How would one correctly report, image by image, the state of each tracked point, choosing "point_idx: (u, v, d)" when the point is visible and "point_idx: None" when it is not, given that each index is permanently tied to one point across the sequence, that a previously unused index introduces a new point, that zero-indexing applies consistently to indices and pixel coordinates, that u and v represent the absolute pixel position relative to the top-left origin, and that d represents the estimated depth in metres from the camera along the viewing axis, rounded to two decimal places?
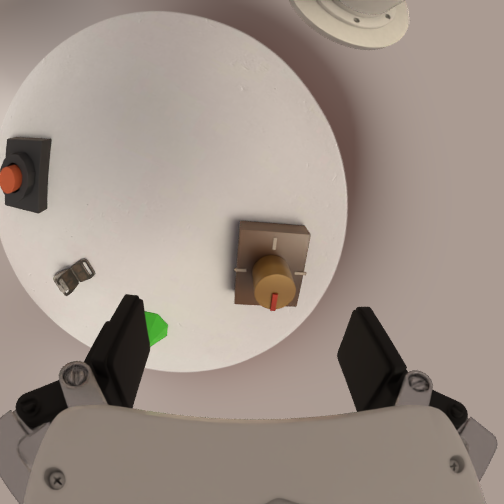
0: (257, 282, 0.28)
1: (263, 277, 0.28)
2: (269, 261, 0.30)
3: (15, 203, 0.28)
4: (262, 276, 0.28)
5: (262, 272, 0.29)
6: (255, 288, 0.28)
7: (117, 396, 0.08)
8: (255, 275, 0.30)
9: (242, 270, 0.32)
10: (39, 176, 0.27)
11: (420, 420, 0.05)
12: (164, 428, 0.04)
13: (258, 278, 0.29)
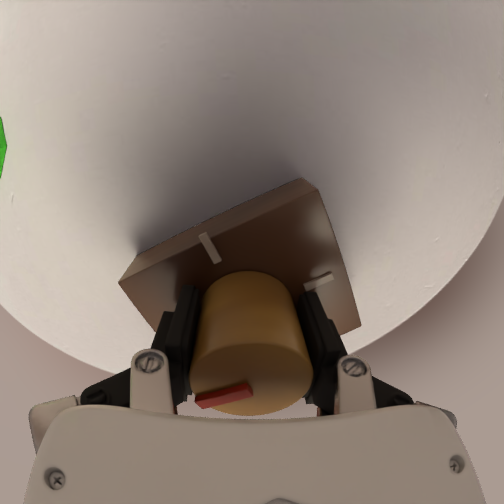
0: (252, 335, 0.08)
1: (283, 344, 0.08)
2: (290, 305, 0.11)
3: None
4: (278, 335, 0.08)
5: (276, 321, 0.09)
6: (232, 344, 0.08)
7: (183, 381, 0.09)
8: (245, 304, 0.10)
9: (212, 253, 0.11)
10: None
11: (420, 420, 0.05)
12: (164, 428, 0.04)
13: (260, 327, 0.09)
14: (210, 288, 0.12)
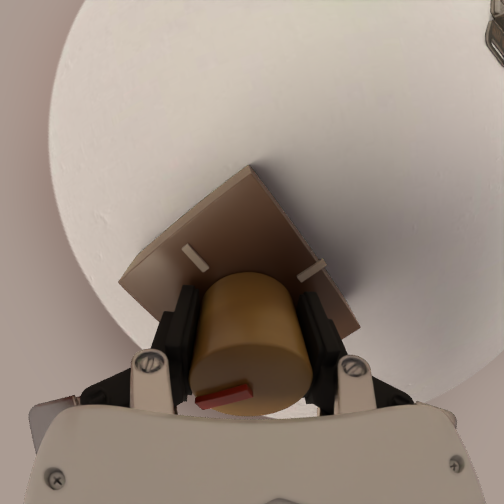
0: (251, 337, 0.08)
1: (282, 345, 0.08)
2: (290, 306, 0.11)
3: None
4: (277, 336, 0.08)
5: (275, 322, 0.09)
6: (231, 345, 0.08)
7: (183, 381, 0.09)
8: (245, 305, 0.10)
9: (307, 274, 0.12)
10: None
11: (420, 420, 0.05)
12: (164, 428, 0.04)
13: (259, 328, 0.09)
14: (210, 289, 0.12)
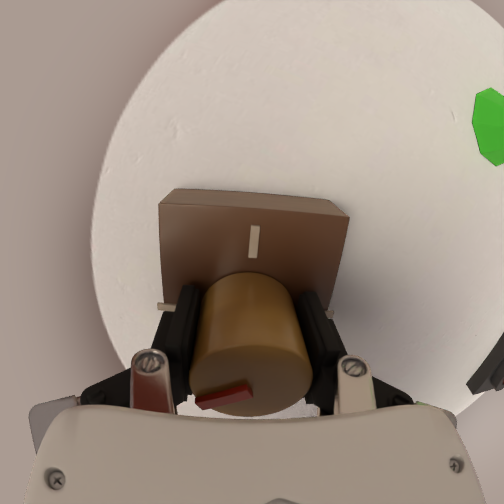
0: (251, 337, 0.08)
1: (282, 346, 0.08)
2: (290, 306, 0.11)
3: None
4: (277, 336, 0.08)
5: (275, 322, 0.09)
6: (232, 345, 0.08)
7: (183, 381, 0.09)
8: (245, 305, 0.10)
9: None
10: (494, 367, 0.21)
11: (420, 420, 0.05)
12: (164, 428, 0.04)
13: (259, 328, 0.09)
14: (210, 290, 0.12)
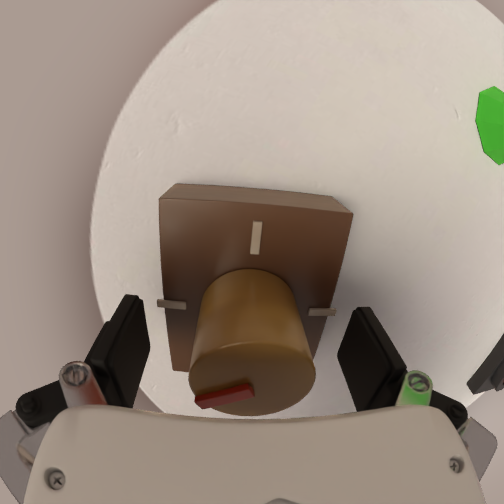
0: (254, 335, 0.08)
1: (286, 344, 0.08)
2: (293, 304, 0.11)
3: None
4: (281, 335, 0.08)
5: (278, 320, 0.09)
6: (234, 343, 0.08)
7: (117, 396, 0.08)
8: (247, 303, 0.09)
9: (317, 312, 0.13)
10: (495, 367, 0.20)
11: (420, 420, 0.05)
12: (164, 428, 0.04)
13: (262, 326, 0.08)
14: (211, 286, 0.12)
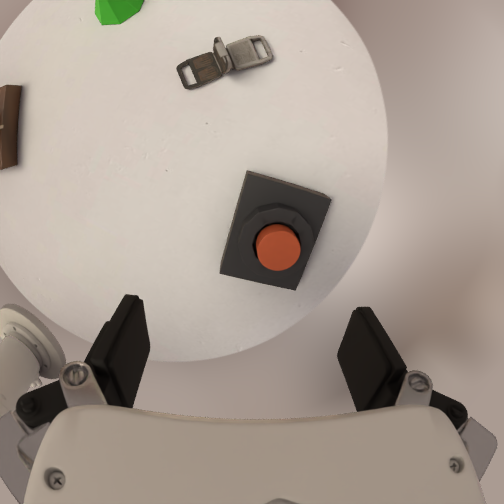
0: None
1: None
2: None
3: (302, 197, 0.24)
4: None
5: None
6: None
7: (117, 396, 0.08)
8: None
9: None
10: (231, 228, 0.25)
11: (420, 420, 0.05)
12: (164, 428, 0.04)
13: None
14: None
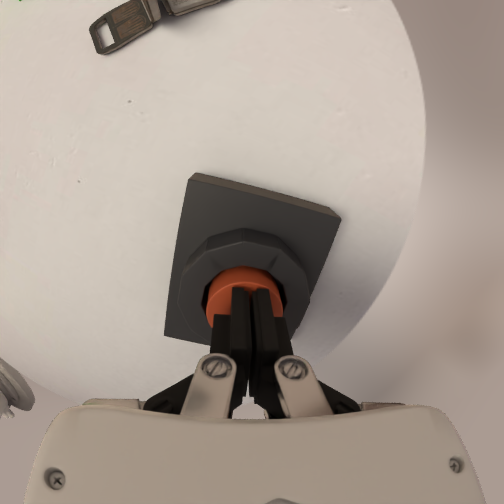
0: None
1: None
2: None
3: (289, 217, 0.14)
4: None
5: None
6: None
7: None
8: None
9: None
10: None
11: (420, 420, 0.05)
12: (164, 428, 0.04)
13: None
14: None
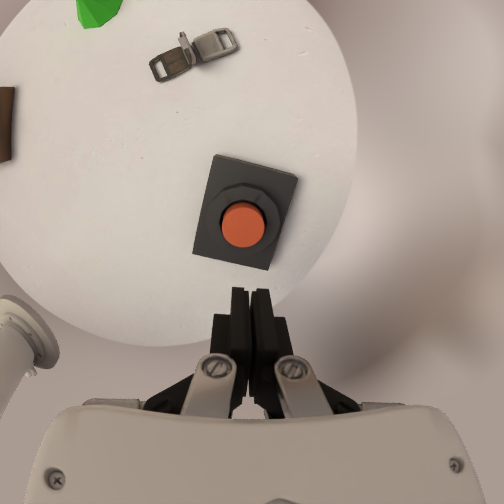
0: None
1: None
2: None
3: (267, 176, 0.25)
4: None
5: None
6: None
7: None
8: None
9: None
10: (201, 208, 0.26)
11: (420, 420, 0.05)
12: (164, 428, 0.04)
13: None
14: None
